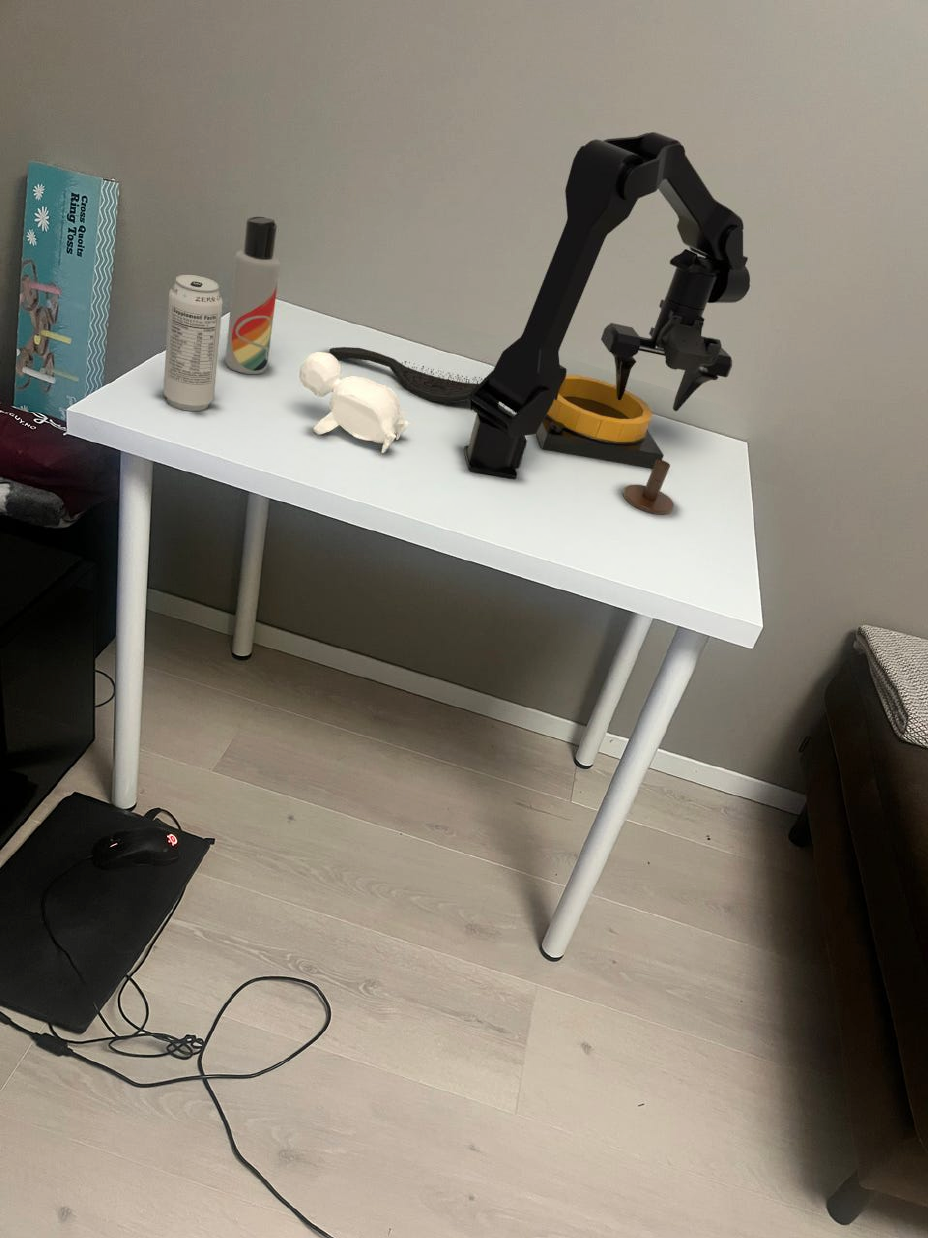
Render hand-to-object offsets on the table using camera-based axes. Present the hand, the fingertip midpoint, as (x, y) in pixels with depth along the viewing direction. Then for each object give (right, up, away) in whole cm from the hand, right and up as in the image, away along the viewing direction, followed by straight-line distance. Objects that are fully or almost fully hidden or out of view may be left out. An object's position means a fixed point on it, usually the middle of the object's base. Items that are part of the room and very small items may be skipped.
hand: (646, 404), depth 137 cm
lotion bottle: (-58, +3, -9) cm, 59 cm away
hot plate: (-9, -4, +2) cm, 10 cm away
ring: (-8, -2, 0) cm, 8 cm away
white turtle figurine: (-43, -8, -18) cm, 47 cm away
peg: (-3, -16, -13) cm, 21 cm away
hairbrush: (-37, +4, +1) cm, 37 cm away
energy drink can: (-62, -5, -23) cm, 66 cm away
